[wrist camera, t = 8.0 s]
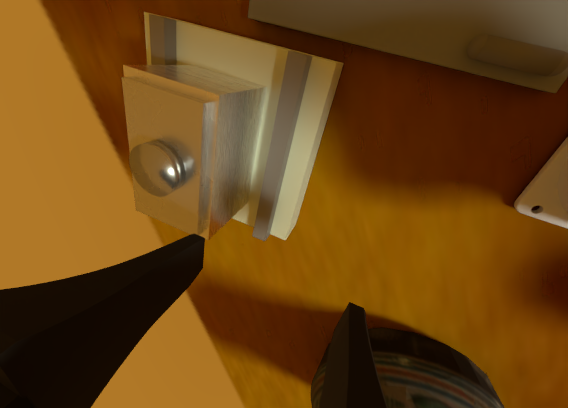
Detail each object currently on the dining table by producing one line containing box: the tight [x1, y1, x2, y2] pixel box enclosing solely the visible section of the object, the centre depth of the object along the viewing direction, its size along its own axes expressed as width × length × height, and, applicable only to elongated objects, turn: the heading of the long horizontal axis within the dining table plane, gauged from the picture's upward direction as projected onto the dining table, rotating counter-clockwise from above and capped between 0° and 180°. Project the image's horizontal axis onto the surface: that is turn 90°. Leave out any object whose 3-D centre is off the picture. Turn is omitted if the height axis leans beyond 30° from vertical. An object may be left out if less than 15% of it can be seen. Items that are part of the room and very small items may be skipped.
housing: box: [121, 65, 267, 240], centre depth 15 cm, size 8×5×6 cm, turn 167°
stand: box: [144, 12, 344, 241], centre depth 18 cm, size 12×12×4 cm
